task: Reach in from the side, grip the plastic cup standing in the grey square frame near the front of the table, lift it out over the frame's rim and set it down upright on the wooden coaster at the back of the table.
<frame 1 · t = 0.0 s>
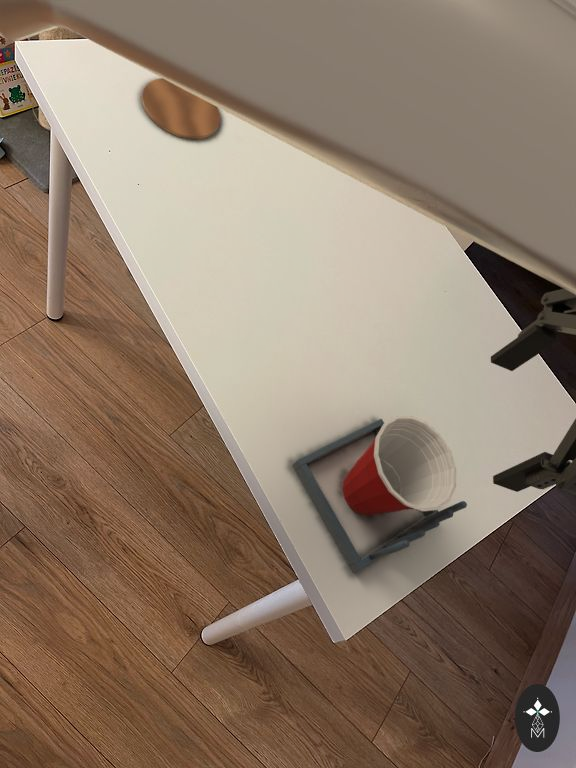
hand: (502, 420, 59), 21 cm above the table, tool pointing down, fingers open, 13 cm apart
wooden coaster: (181, 109, 91), on the table
plastic cup: (363, 493, 73), resting in grey square frame
grey square frame: (364, 492, 73), on the table
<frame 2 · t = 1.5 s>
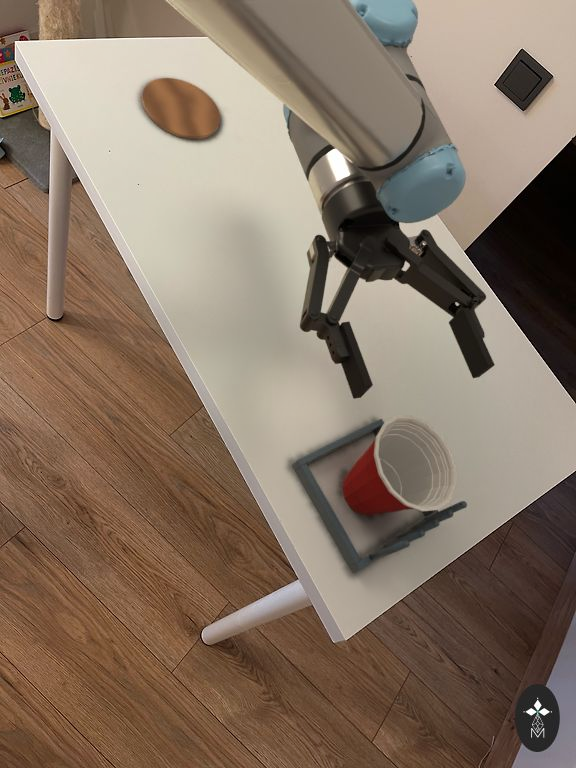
hand: (426, 382, 56), 22 cm above the table, tool horizontal, fingers open, 13 cm apart
nothing on the table moved.
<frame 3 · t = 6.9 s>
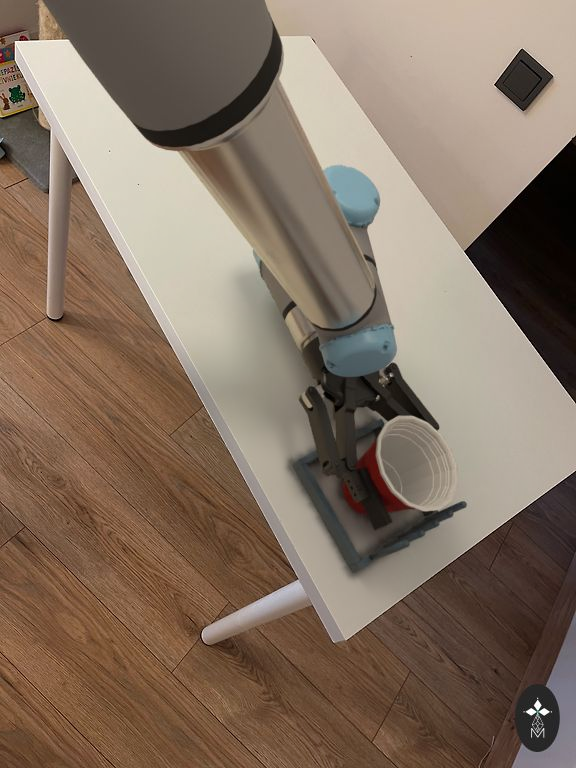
hand: (415, 510, 66), 8 cm above the table, tool horizontal, fingers closed on plastic cup, 9 cm apart
plastic cup: (363, 493, 73), resting in grey square frame, touching gripper
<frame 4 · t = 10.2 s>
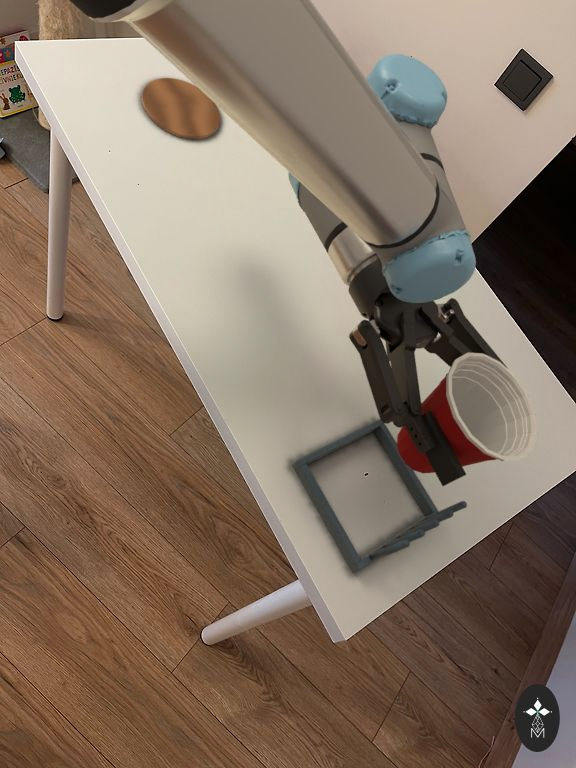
hand: (488, 463, 56), 20 cm above the table, tool horizontal, fingers closed on plastic cup, 9 cm apart
plastic cup: (419, 449, 64), point 12 cm above the table, touching gripper
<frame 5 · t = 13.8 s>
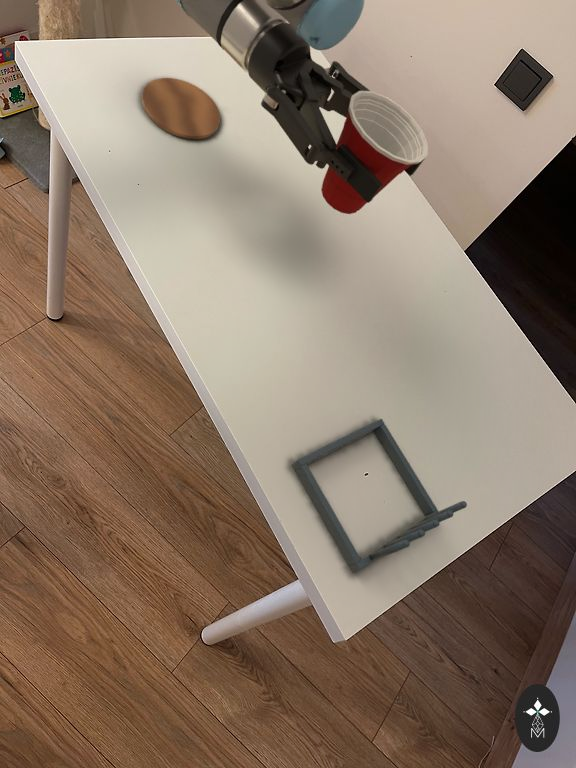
hand: (397, 179, 70), 20 cm above the table, tool horizontal, fingers closed on plastic cup, 9 cm apart
plastic cup: (341, 198, 77), point 13 cm above the table, touching gripper
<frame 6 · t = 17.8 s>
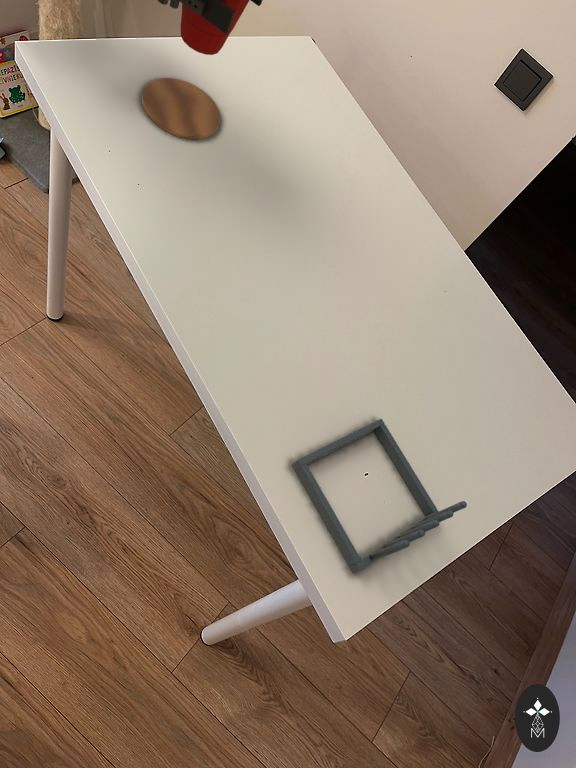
hand: (247, 8, 76), 19 cm above the table, tool horizontal, fingers closed on plastic cup, 9 cm apart
plastic cup: (201, 41, 82), point 11 cm above the table, touching gripper
when the fingers open (8 cm above the table, at t = 21.2 s): plastic cup stays where it is, resting on wooden coaster.
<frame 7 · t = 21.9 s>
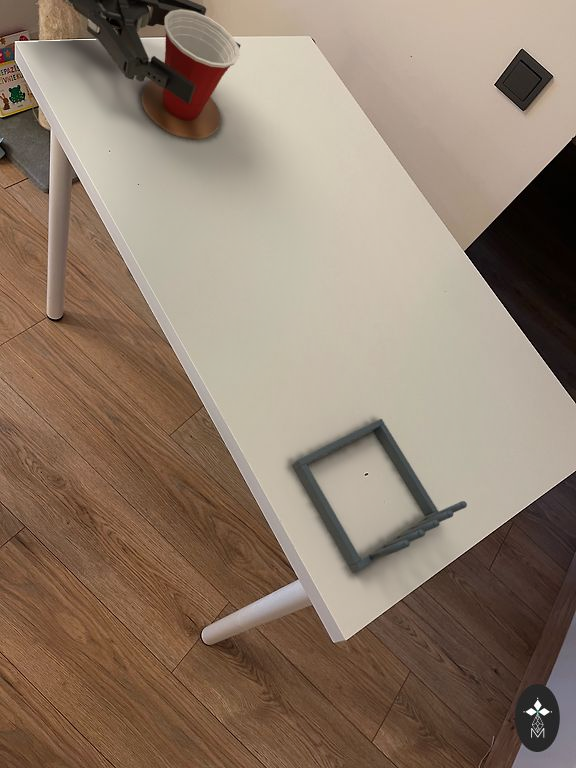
hand: (215, 73, 84), 9 cm above the table, tool horizontal, fingers open, 13 cm apart
plastic cup: (182, 107, 91), resting on wooden coaster
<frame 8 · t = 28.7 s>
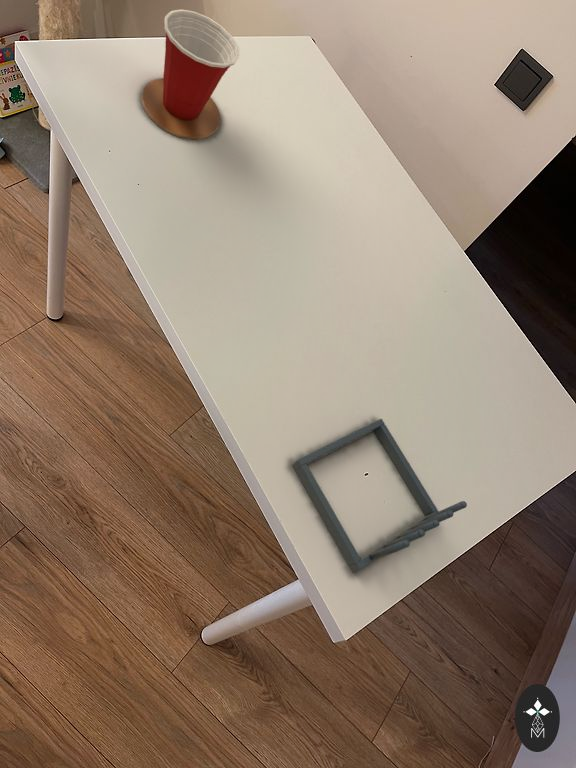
nothing on the table moved.
at the end: plastic cup 0.0 cm off-centre on the wooden coaster, point 0.4 cm above the wooden coaster's base; plastic cup tilted 0°; the gripper is holding nothing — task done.
